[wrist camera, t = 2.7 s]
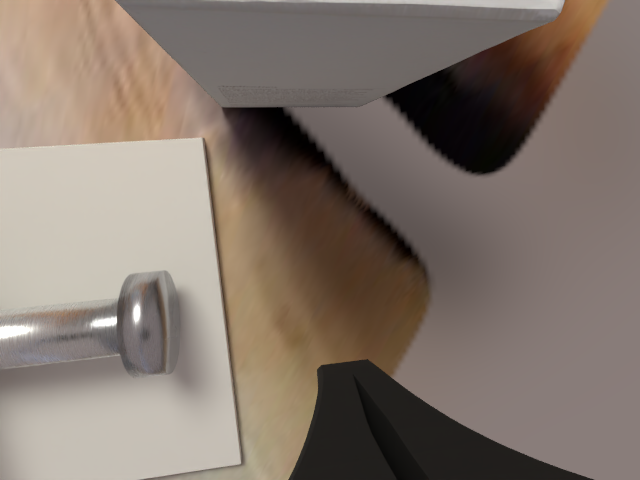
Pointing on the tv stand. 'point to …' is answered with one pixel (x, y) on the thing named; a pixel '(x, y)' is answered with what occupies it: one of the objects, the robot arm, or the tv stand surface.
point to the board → (105, 283)
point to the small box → (326, 43)
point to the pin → (100, 329)
